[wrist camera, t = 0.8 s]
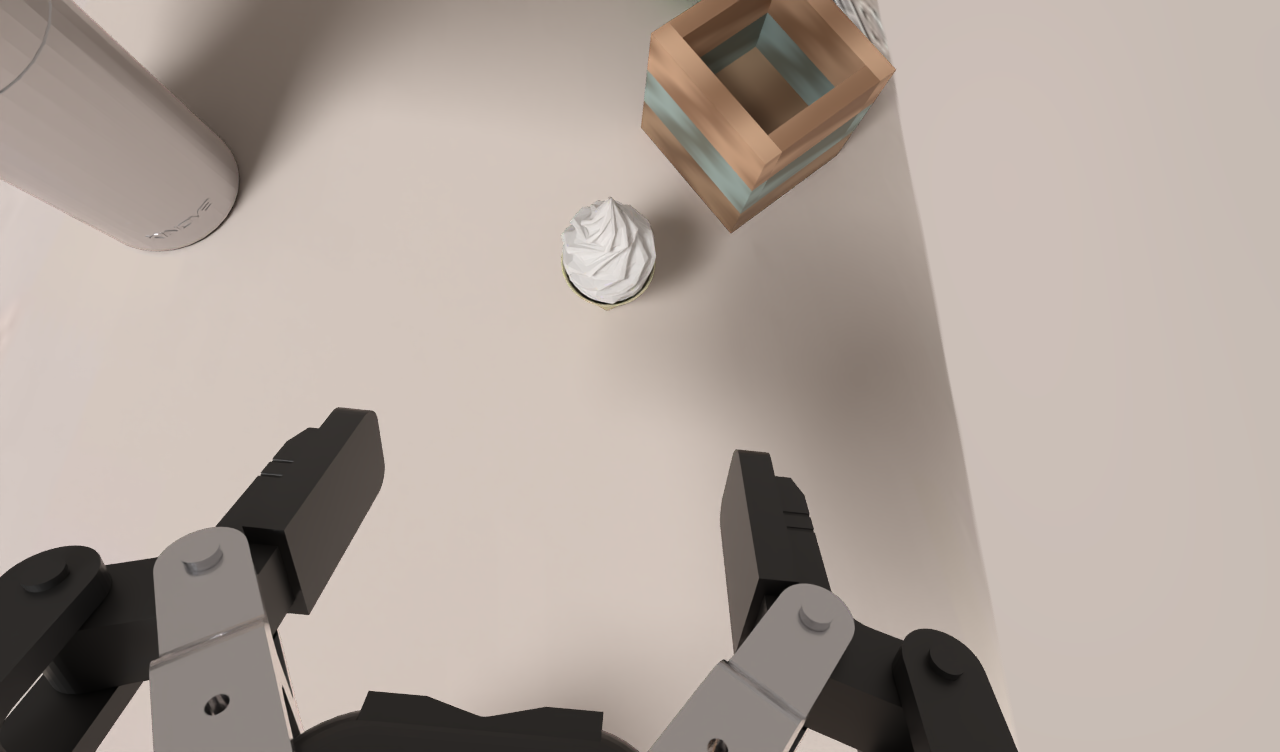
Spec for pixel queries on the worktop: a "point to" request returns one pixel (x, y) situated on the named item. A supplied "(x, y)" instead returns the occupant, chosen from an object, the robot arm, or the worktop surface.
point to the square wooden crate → (757, 96)
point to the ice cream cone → (608, 254)
